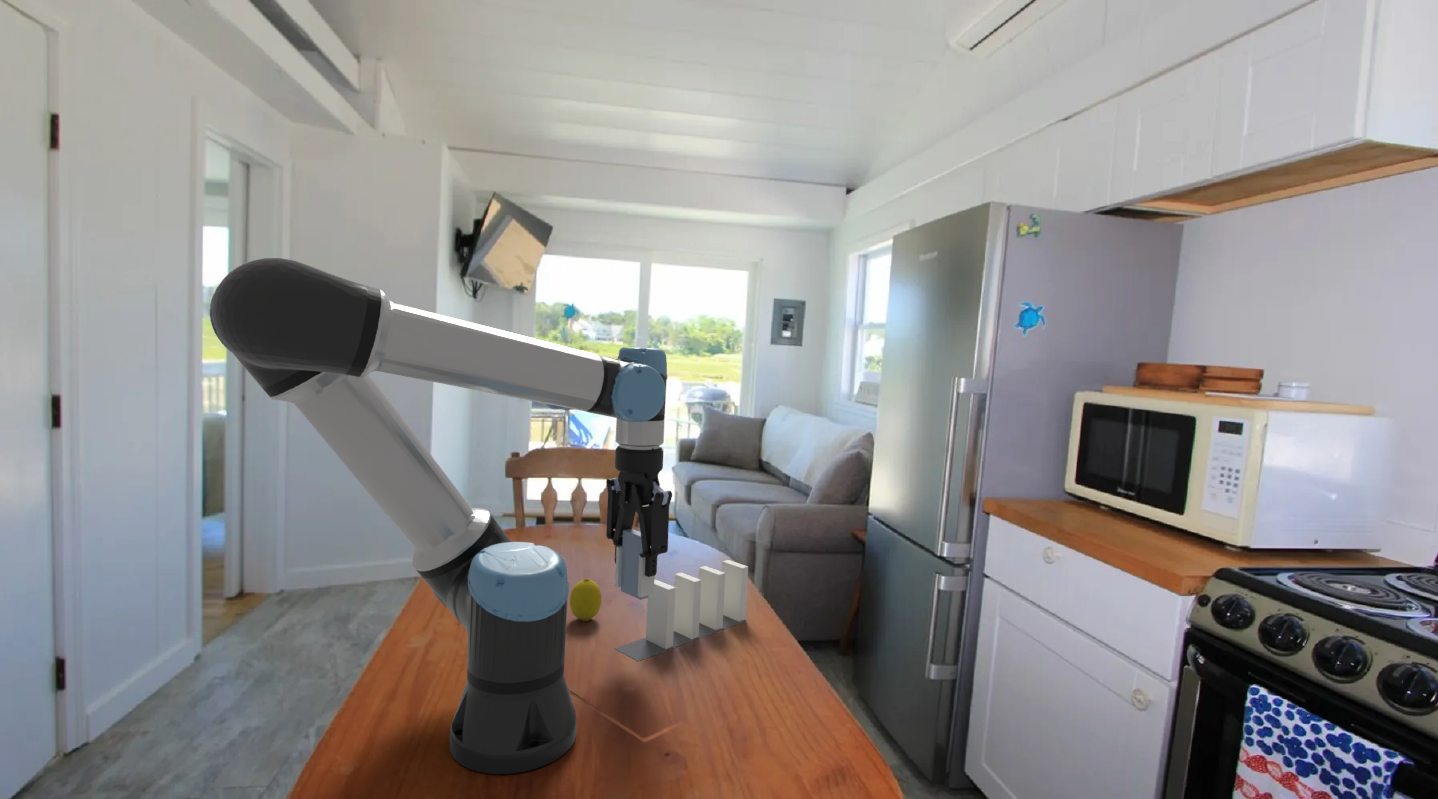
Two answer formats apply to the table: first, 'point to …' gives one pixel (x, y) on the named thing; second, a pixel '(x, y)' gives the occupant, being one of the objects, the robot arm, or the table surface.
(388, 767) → the table surface
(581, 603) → the lemon
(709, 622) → the tile
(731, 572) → the tile
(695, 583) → the tile
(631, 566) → the blue-grey tile
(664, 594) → the tile
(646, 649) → the strip
